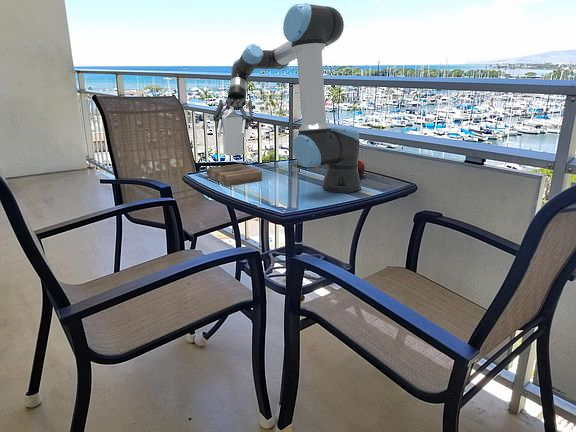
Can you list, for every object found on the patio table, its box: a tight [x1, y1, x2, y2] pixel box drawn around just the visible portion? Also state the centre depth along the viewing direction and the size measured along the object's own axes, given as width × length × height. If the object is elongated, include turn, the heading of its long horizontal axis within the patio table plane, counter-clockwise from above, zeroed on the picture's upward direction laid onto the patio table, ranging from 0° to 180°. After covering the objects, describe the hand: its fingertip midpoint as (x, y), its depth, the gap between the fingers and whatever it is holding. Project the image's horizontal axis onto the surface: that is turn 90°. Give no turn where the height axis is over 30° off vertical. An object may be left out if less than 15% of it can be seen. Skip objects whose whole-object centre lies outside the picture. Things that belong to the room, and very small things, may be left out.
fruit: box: [358, 158, 366, 178], centre depth 179 cm, size 9×10×10 cm
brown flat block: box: [206, 163, 263, 187], centre depth 177 cm, size 20×16×4 cm
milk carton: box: [221, 106, 245, 156], centre depth 170 cm, size 7×7×19 cm
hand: (230, 134), depth 168 cm, fingers closed on milk carton, 9 cm apart
